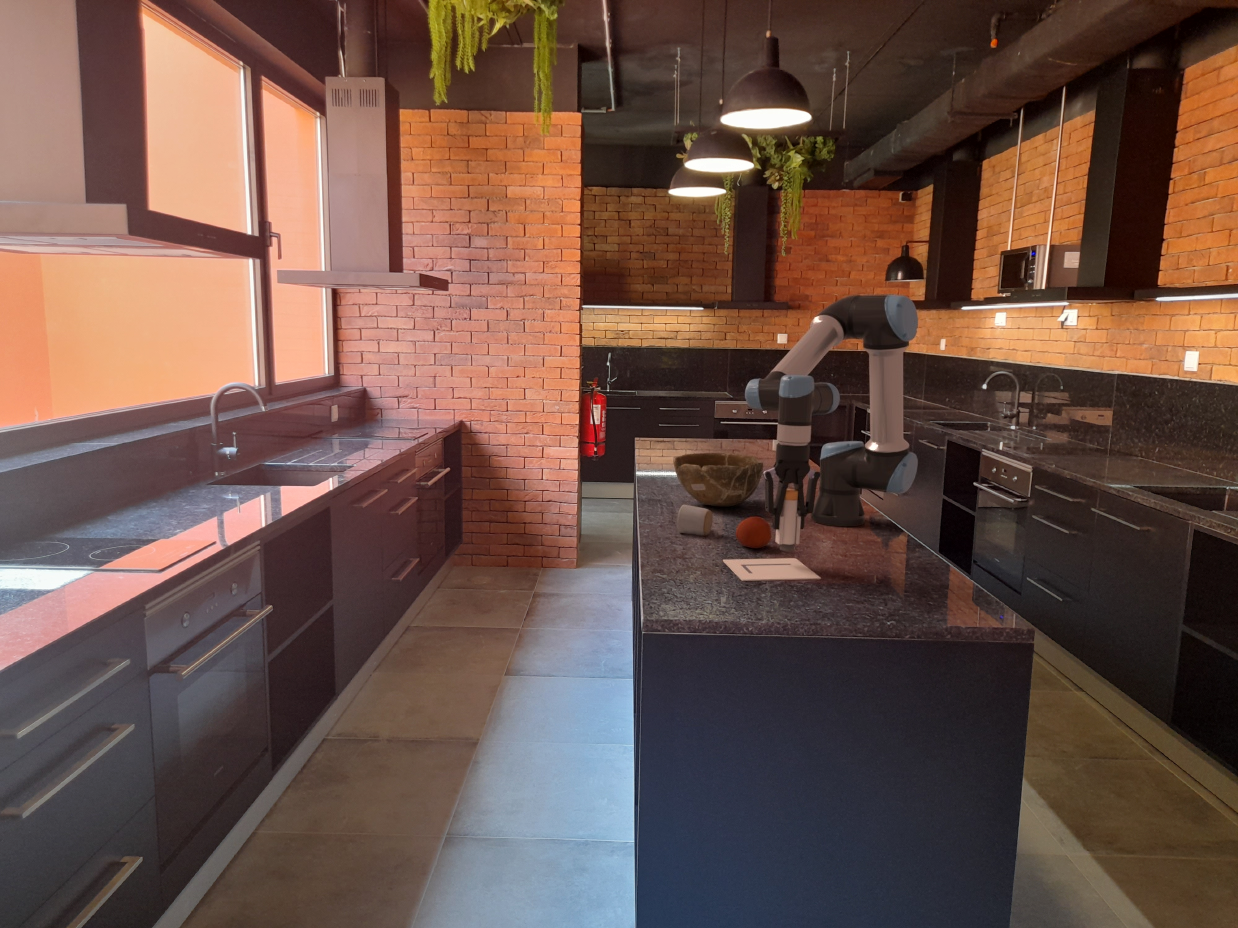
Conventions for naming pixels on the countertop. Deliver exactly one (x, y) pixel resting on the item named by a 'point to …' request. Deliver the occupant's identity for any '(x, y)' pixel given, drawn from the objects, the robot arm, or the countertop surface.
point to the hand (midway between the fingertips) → (787, 542)
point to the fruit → (753, 532)
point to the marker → (789, 520)
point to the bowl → (719, 477)
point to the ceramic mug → (694, 520)
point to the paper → (770, 569)
